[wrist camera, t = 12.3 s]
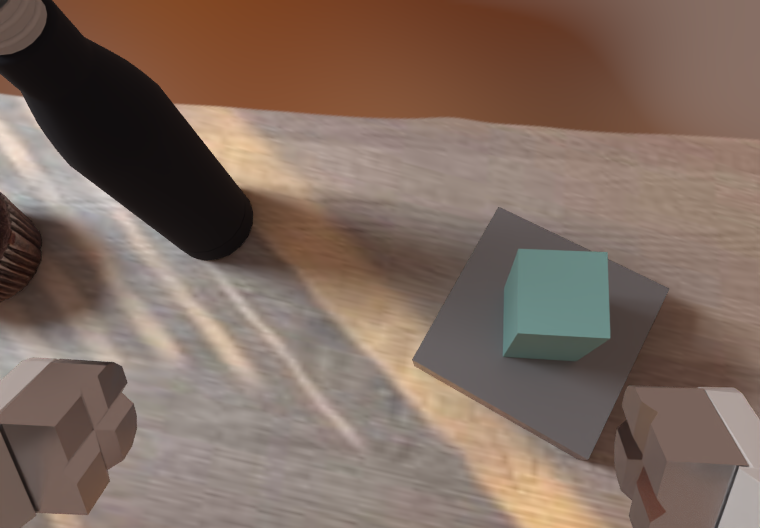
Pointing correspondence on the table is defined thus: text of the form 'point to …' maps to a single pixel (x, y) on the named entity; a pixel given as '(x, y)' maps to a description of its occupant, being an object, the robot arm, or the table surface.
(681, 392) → the robot arm
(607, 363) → the plate
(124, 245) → the table surface
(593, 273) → the teal block
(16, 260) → the cupcake
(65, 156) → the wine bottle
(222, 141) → the table surface
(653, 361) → the table surface
